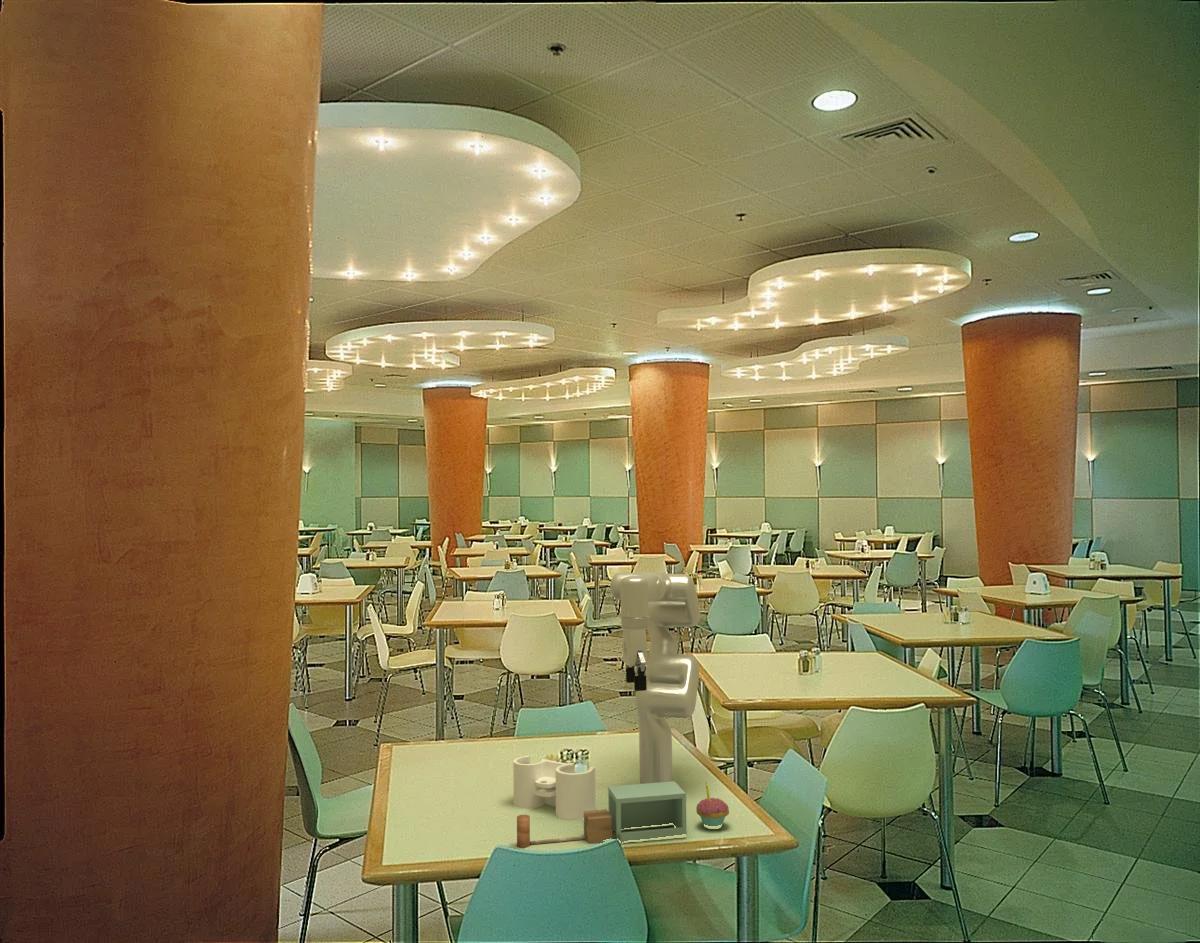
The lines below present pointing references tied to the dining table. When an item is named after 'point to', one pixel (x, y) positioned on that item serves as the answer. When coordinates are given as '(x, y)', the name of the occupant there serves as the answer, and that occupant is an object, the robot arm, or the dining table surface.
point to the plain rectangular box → (647, 809)
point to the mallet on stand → (594, 832)
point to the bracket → (554, 787)
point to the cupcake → (712, 810)
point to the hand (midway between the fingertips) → (636, 686)
